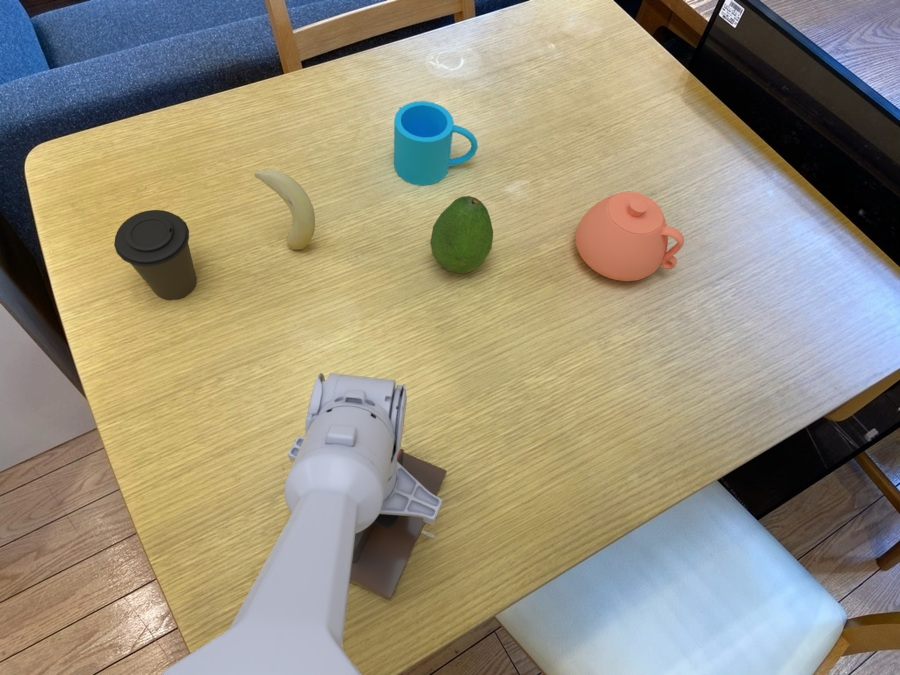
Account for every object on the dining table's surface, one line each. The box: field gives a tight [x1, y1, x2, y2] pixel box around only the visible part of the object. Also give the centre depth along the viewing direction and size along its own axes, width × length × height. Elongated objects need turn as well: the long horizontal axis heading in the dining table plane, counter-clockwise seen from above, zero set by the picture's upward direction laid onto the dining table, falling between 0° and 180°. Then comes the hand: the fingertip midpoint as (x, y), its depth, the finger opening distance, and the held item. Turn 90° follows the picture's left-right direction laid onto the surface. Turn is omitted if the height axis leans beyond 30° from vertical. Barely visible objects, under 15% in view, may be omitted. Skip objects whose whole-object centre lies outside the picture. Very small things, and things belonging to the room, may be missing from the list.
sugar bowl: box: [574, 191, 685, 282], centre depth 83 cm, size 12×14×10 cm
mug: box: [393, 100, 479, 186], centre depth 90 cm, size 12×8×8 cm
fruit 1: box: [254, 169, 316, 250], centre depth 78 cm, size 6×12×3 cm
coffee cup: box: [113, 209, 198, 301], centre depth 75 cm, size 8×8×10 cm
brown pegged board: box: [350, 451, 448, 602], centre depth 66 cm, size 15×15×2 cm
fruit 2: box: [429, 195, 494, 274], centre depth 79 cm, size 8×8×12 cm
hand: (367, 504), depth 64 cm, fingers closed on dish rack, 3 cm apart
